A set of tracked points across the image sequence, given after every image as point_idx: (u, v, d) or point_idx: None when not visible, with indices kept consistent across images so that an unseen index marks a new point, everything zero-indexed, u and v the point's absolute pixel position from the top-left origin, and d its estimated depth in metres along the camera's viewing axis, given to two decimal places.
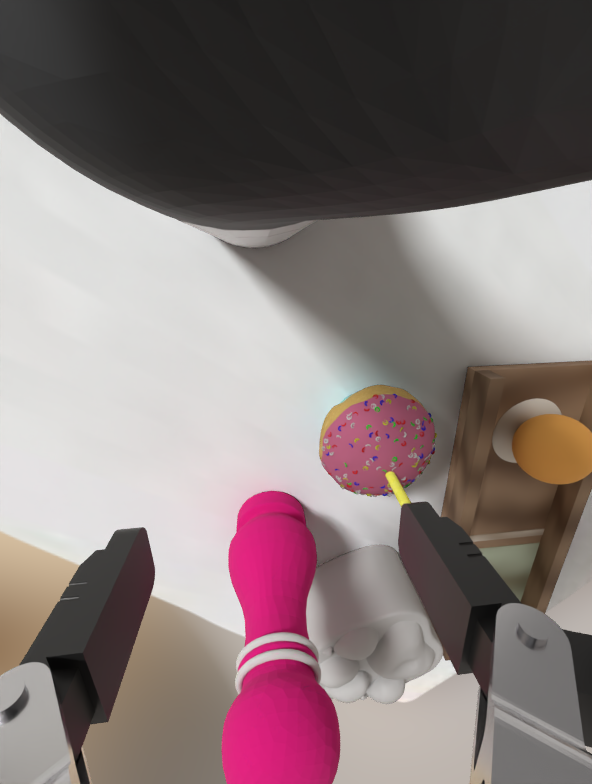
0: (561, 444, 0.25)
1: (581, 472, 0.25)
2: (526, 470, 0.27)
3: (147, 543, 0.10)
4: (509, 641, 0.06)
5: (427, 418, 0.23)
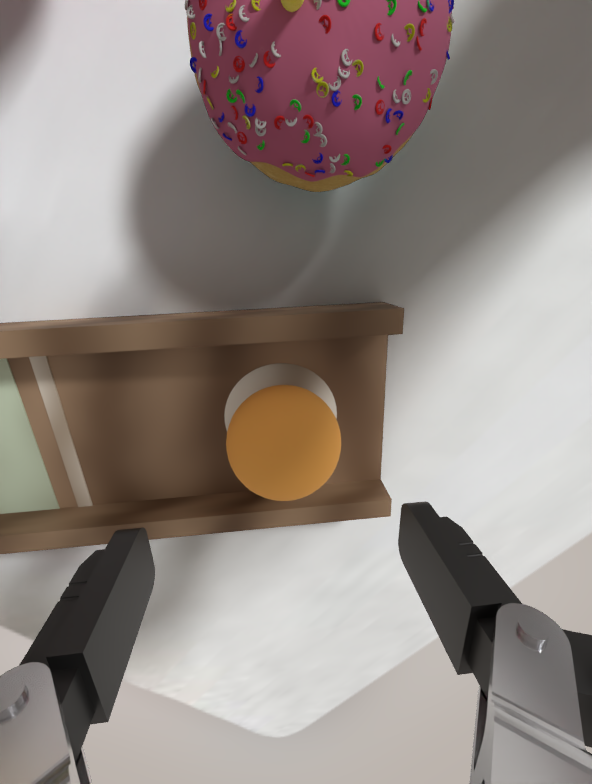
0: (321, 431, 0.15)
1: (279, 474, 0.14)
2: (247, 405, 0.15)
3: (147, 543, 0.10)
4: (509, 641, 0.06)
5: (392, 142, 0.11)
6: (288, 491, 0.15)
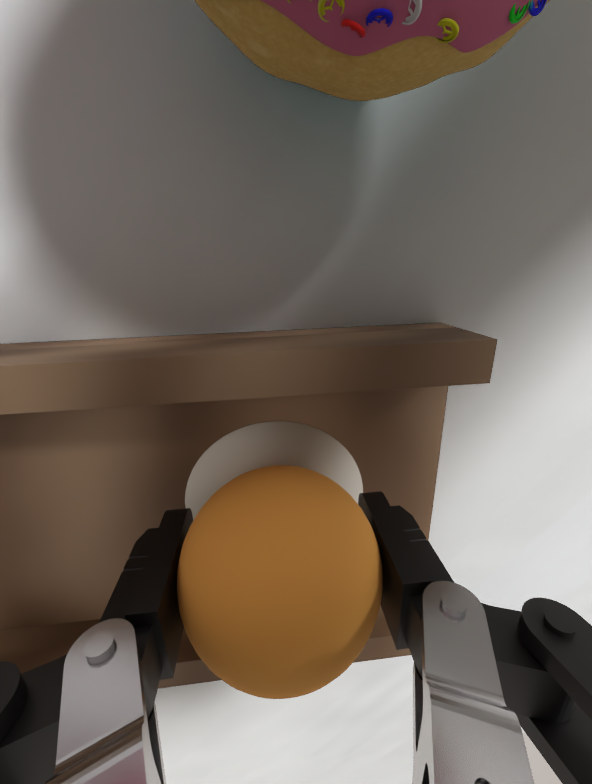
0: (354, 581, 0.08)
1: (273, 678, 0.07)
2: (213, 518, 0.08)
3: None
4: (435, 619, 0.07)
5: None
6: (289, 696, 0.08)
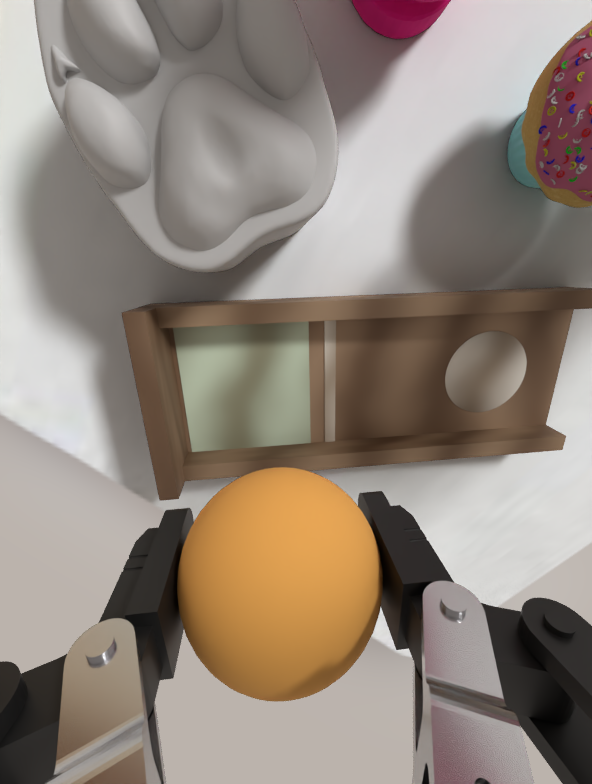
0: (354, 583, 0.08)
1: (273, 680, 0.07)
2: (213, 521, 0.08)
3: (192, 523, 0.11)
4: (435, 619, 0.07)
5: None
6: None
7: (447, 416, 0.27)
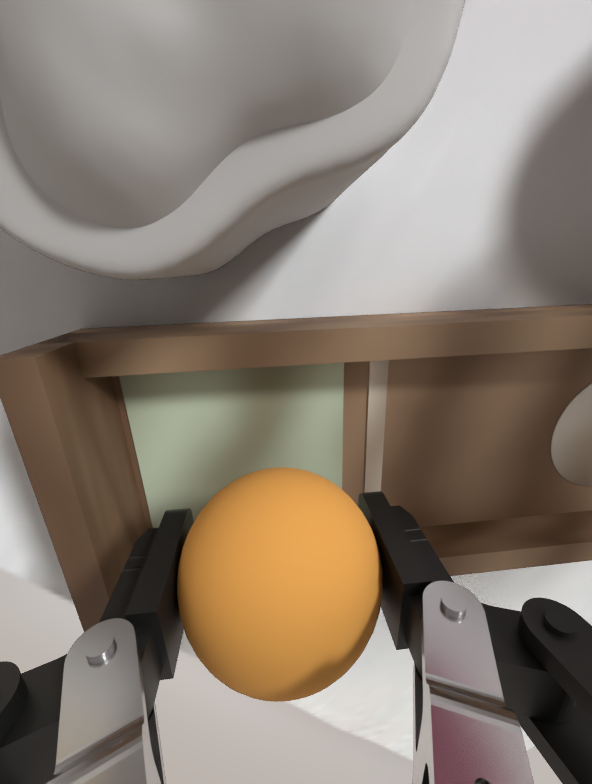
0: (354, 583, 0.08)
1: (273, 681, 0.07)
2: (213, 521, 0.08)
3: (192, 523, 0.11)
4: (435, 619, 0.07)
5: None
6: (289, 699, 0.08)
7: (548, 493, 0.18)
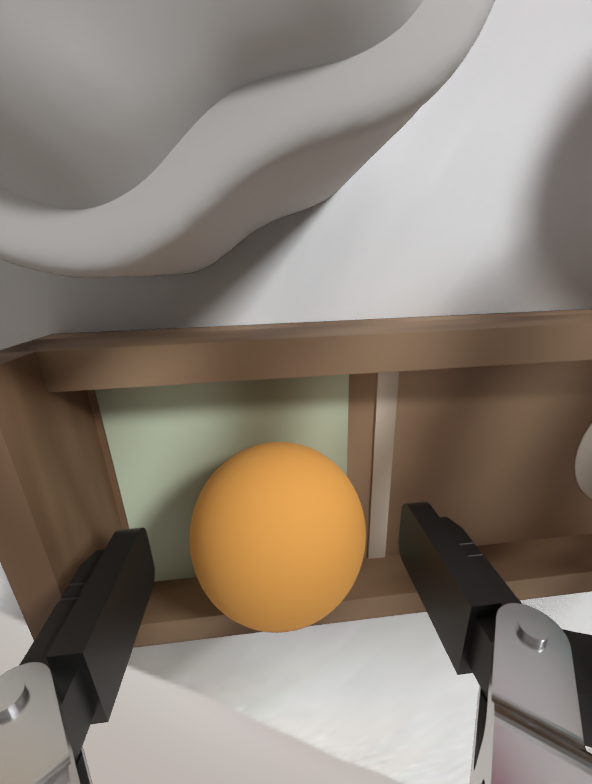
0: (339, 532, 0.09)
1: (271, 609, 0.09)
2: (221, 482, 0.10)
3: (147, 543, 0.10)
4: (509, 641, 0.06)
5: None
6: (284, 628, 0.09)
7: (570, 513, 0.16)
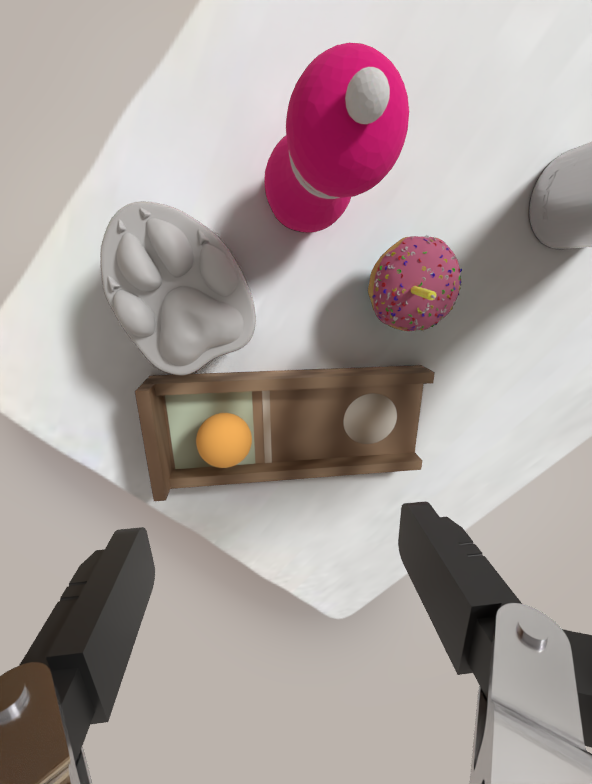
0: (238, 436, 0.33)
1: (218, 454, 0.32)
2: (206, 422, 0.34)
3: (147, 543, 0.10)
4: (509, 641, 0.06)
5: (438, 320, 0.32)
6: (222, 462, 0.33)
7: (347, 446, 0.40)
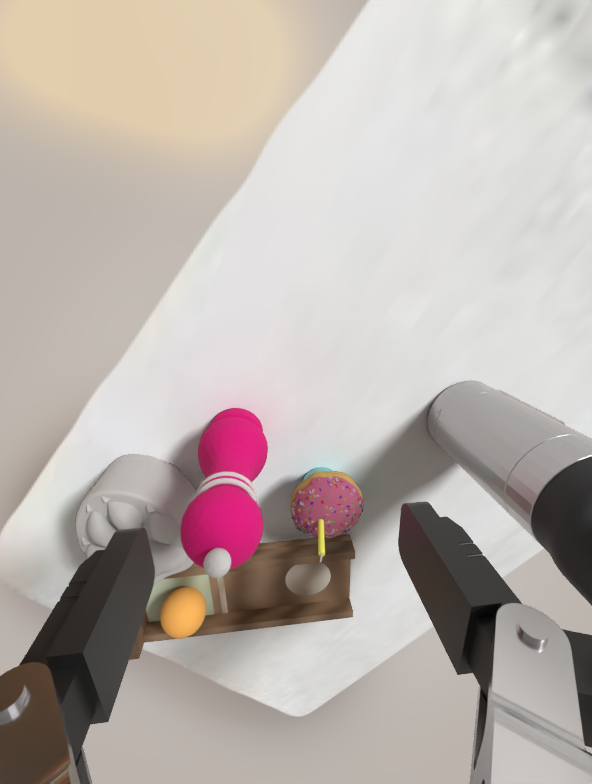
0: (191, 617, 0.42)
1: (175, 634, 0.41)
2: (167, 603, 0.42)
3: (147, 543, 0.10)
4: (509, 641, 0.06)
5: None
6: (179, 637, 0.42)
7: (290, 597, 0.49)
